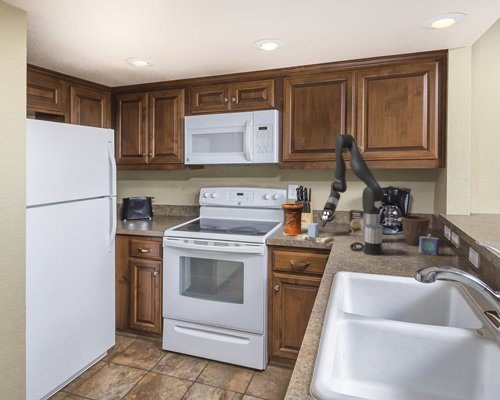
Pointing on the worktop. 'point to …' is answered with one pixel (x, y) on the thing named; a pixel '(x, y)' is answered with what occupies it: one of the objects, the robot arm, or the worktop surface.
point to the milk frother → (371, 240)
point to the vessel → (292, 218)
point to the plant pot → (414, 228)
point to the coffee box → (356, 222)
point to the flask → (429, 245)
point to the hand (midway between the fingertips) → (322, 226)
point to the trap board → (318, 239)
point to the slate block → (313, 230)
